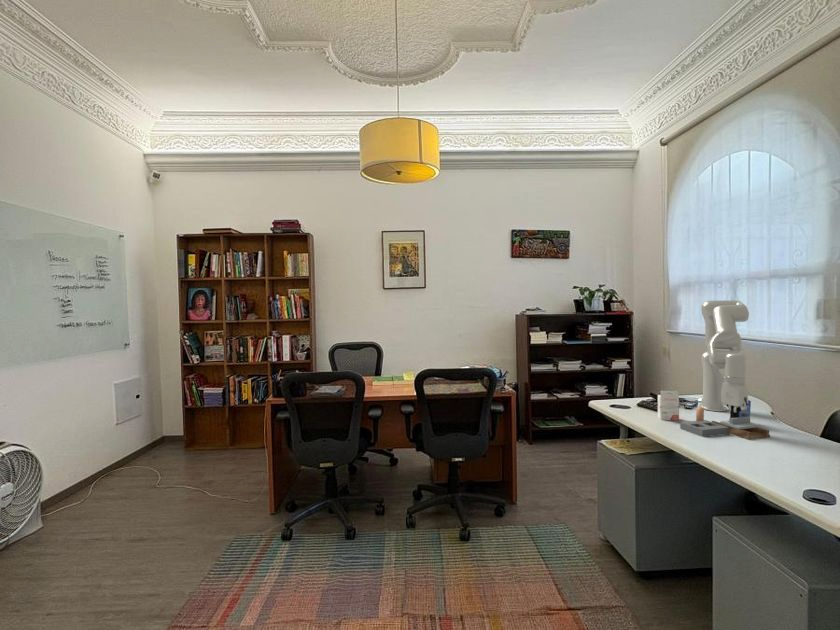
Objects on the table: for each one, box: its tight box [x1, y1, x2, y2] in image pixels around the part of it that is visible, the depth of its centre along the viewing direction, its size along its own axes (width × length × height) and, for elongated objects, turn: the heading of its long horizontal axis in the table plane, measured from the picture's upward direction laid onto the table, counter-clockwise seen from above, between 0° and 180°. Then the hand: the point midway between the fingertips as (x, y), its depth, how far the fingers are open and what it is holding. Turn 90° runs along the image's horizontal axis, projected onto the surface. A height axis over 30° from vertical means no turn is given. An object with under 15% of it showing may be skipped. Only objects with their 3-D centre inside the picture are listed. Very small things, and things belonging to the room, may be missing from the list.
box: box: [711, 420, 771, 440], centre depth 194 cm, size 18×12×3 cm, turn 12°
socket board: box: [679, 419, 730, 437], centre depth 196 cm, size 12×14×3 cm
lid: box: [720, 416, 761, 429], centre depth 194 cm, size 9×11×3 cm
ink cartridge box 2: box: [737, 399, 752, 418], centre depth 207 cm, size 10×6×14 cm, turn 163°
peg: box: [695, 406, 705, 421], centre depth 206 cm, size 3×3×8 cm
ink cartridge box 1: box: [657, 390, 680, 421], centre depth 216 cm, size 9×5×15 cm, turn 76°
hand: (734, 420), depth 196 cm, fingers closed
